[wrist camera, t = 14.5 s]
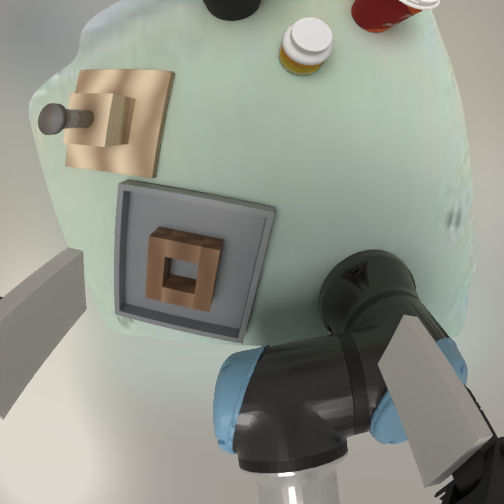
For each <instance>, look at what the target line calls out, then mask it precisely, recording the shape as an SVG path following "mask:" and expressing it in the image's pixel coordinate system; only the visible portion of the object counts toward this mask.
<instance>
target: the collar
mask: <svg viewBox="0 0 504 504" xmlns="http://www.w3.org/2000/svg"><path fill="white" fill-rule="evenodd" d="M223 241H224V239H219V238H214V237H209V236H204V235H199V234H195V233H190V232H185V231H180V230H175V229H170V228H165V227H160V226H159V227H158V228H157V229H156V230H155V231H154V232H153V233H152V234H151V235H150V236H149V244H148V257H147V273H146V294H145V298H149V299H153V300H157V301H161V302H165V303H170V304H174V305H178V306H183V307H187V308H192V309H196V310H201V311H206V312H210V308H211V304H212V300H213V297H214V291H215V285H216V279H217V274H218V268H219V263H220V257H221V252H222V246H223ZM172 258H173V259H178V260H183V261H187V262H192V263H197V264H199V266H198V273H197V279H192V278H187V277H183V276H178V275H174V274H170V270H171V260H172Z"/></svg>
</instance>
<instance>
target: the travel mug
mask: <svg viewBox="0 0 504 504" xmlns="http://www.w3.org/2000/svg"><path fill="white" fill-rule="evenodd" d="M203 1H204V3H205V5H206V7H207V9H208V10H209V11H210V12H211V14H213V15H214V16H216V17H217V18H220V19H223V20H229V21H234V20H240V19H244V18H246V17H248V16H250V15H251V14H253V13H254V12H255V11H256V10H257V9H258V7H259V5H260V2H261V0H203Z"/></svg>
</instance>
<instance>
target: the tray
mask: <svg viewBox="0 0 504 504" xmlns="http://www.w3.org/2000/svg"><path fill="white" fill-rule="evenodd" d="M274 215H275V211H274V207H271V206H267V205H262V204H257V203H253V202H248V201H243V200H238V199H233V198H228V197H223V196H218V195H213V194H208V193H202V192H197V191H192V190H186V189H181V188H175V187H169V186H164V185H158V184H152V183H146V182H140V181H133V180H126V181H123V182H121V183H119V185H118V196H117V209H116V225H115V251H114V297H115V314H117V315H121V316H124V317H128V318H132V319H135V320H139V321H143V322H147V323H151V324H155V325H159V326H163V327H167V328H171V329H175V330H180V331H184V332H188V333H193V334H197V335H202V336H207V337H212V338H217V339H222V340H227V341H232V342H237V343H243V340H244V336H245V332H246V328H247V324H248V320H249V316H250V312H251V308H252V304H253V300H254V296H255V292H256V288H257V284H258V280H259V276H260V272H261V268H262V264H263V260H264V256H265V252H266V248H267V244H268V239H269V235H270V231H271V227H272V223H273V219H274ZM159 226H160V227H165V228H170V229H175V230H180V231H185V232H190V233H195V234H199V235H204V236H209V237H214V238H219V239H224V241H223V246H222V252H221V257H220V263H219V268H218V274H217V279H216V285H215V291H214V297H213V300H212V304H211V308H210V312H206V311H201V310H196V309H192V308H187V307H183V306H178V305H174V304H170V303H165V302H161V301H157V300H153V299H149V298H145V294H146V273H147V257H148V244H149V236H150V235H151V234H152V233H153V232H154V231H155V230H156V229H157V228H158V227H159ZM198 266H199V264H197V263H192V262H187V261H183V260H178V259H173V258H172V260H171V270H170V274H174V275H178V276H183V277H187V278H192V279H197V273H198Z"/></svg>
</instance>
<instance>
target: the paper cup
mask: <svg viewBox="0 0 504 504" xmlns="http://www.w3.org/2000/svg"><path fill="white" fill-rule="evenodd" d="M439 3H440V0H355V2H354V3H353V6H352V9H351V13H352V17H353V19H354V20H355V22H356V23H357V24H358V25H359V26H360V27H361V28H363V29H365V30H367V31H370V32H375V33H377V32H382V31H385V30H387V29H389V28H390V27H392V26H394V25H396V24H398V23H400V22H402V21H403V20H405V19H407V18H409V17H411V16H413V15H415V14H417V13H419V12H421V11H423V10H430V9H433V8H435V7H436V6H438V4H439Z"/></svg>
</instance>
